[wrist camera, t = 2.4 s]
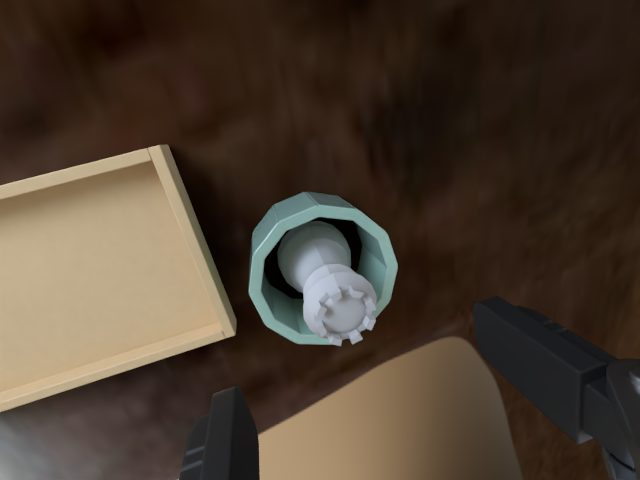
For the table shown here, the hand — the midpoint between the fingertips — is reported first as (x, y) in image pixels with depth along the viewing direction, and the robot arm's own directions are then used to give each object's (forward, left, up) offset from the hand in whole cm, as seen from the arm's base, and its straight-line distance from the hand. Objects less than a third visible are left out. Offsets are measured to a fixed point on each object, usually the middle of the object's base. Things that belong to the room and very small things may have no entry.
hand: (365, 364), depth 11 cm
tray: (+9, -11, -11) cm, 18 cm away
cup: (0, 0, -11) cm, 11 cm away
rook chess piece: (0, 0, -11) cm, 11 cm away
